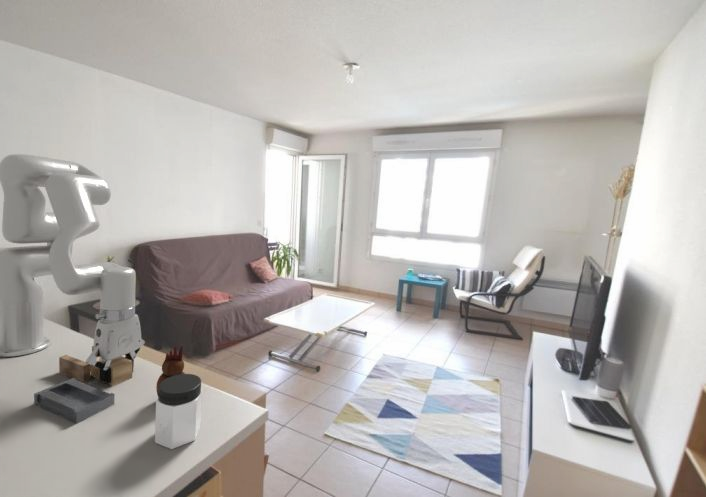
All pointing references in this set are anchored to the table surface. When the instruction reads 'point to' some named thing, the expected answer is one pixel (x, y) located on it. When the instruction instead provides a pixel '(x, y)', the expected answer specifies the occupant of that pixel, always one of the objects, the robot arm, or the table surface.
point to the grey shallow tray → (73, 400)
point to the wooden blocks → (74, 367)
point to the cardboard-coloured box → (116, 370)
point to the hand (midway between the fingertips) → (117, 376)
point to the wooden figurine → (171, 366)
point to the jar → (178, 410)
